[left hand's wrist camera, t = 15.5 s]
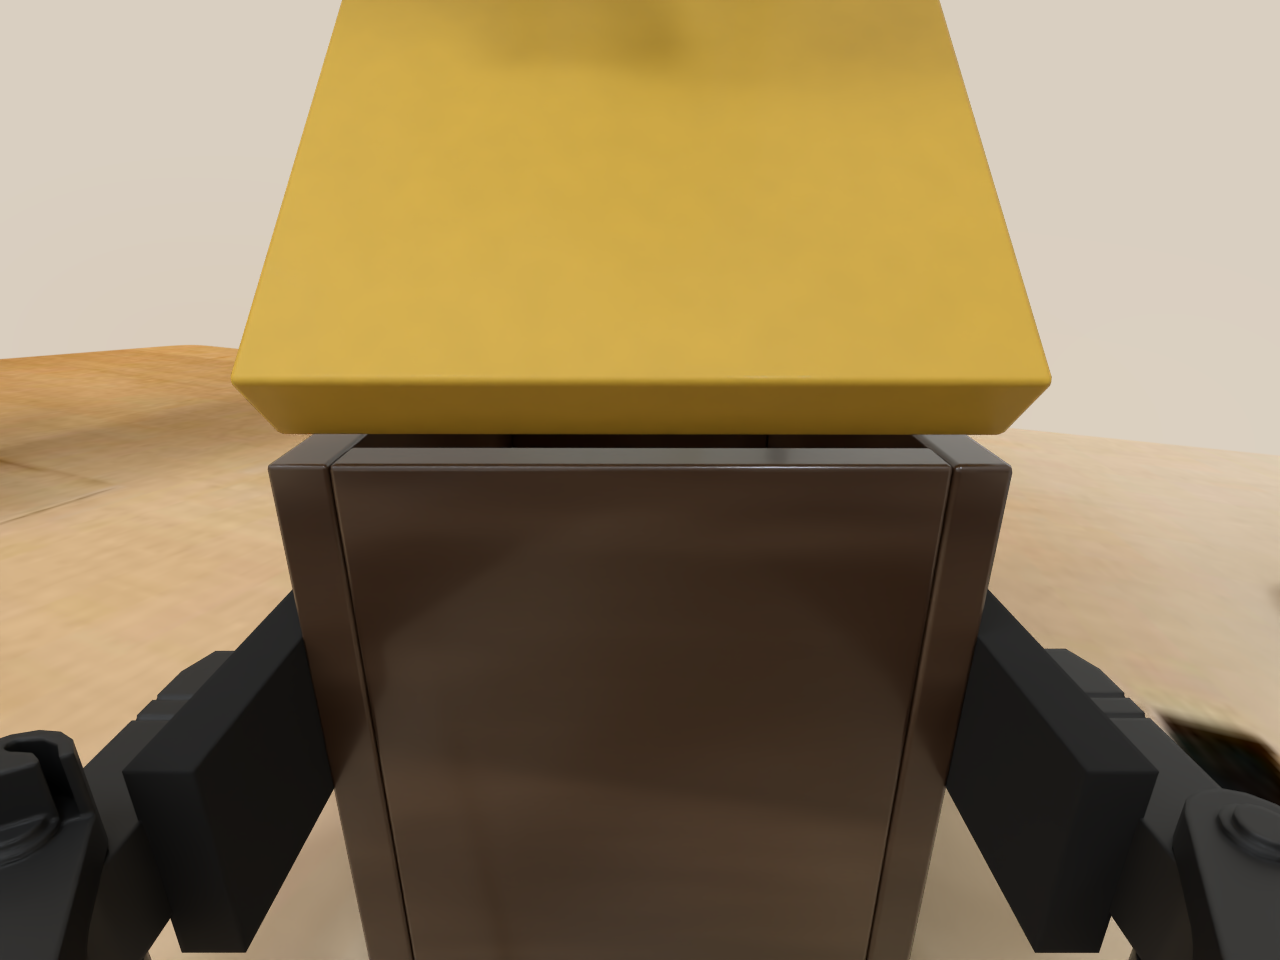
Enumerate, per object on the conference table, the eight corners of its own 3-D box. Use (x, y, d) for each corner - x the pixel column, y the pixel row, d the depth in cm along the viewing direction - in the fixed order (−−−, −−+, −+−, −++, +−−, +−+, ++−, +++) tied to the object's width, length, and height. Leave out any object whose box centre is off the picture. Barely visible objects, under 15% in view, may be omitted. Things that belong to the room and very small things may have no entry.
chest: (506, 632, 24) (481, 316, 20) (771, 633, 24) (797, 316, 20) (381, 1033, 13) (263, 466, 9) (897, 1032, 13) (1018, 466, 9)
